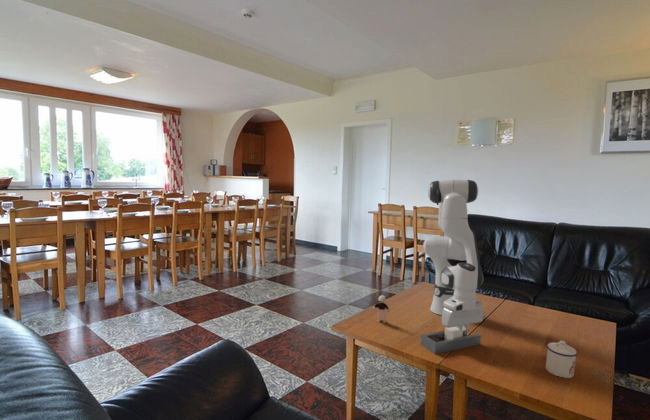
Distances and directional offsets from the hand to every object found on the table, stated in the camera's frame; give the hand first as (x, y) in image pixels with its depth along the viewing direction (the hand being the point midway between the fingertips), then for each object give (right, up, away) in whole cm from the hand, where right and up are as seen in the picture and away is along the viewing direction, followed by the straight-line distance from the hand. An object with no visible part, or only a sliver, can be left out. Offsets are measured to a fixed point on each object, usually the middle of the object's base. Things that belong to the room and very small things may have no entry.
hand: (461, 334), depth 152 cm
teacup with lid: (+29, -7, -19) cm, 35 cm away
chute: (-5, -4, -2) cm, 7 cm away
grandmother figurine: (-31, -1, +19) cm, 37 cm away
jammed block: (-4, -2, -1) cm, 5 cm away
